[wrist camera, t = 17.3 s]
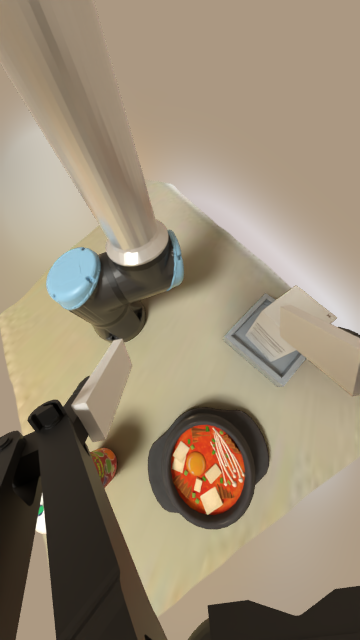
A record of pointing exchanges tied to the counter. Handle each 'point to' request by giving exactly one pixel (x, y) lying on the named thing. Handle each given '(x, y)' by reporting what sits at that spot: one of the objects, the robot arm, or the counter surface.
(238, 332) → the tray
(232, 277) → the counter surface
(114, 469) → the smoothie
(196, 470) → the casserole
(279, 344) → the supplement box
